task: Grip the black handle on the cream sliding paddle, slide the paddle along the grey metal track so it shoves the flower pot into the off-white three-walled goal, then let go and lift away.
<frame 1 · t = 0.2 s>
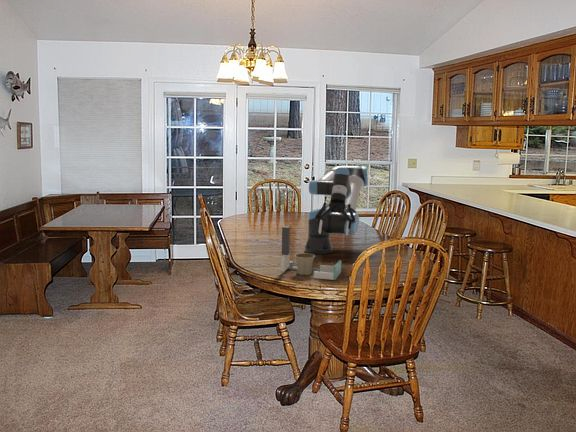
hand: (333, 233, 301), 16 cm above the table, tool tilted 35°, fingers open, 13 cm apart
track: (301, 269, 293), on the table
goal: (325, 275, 283), on the table
flower pot: (304, 273, 286), on the table
paddle: (286, 247, 288), point 11 cm above the table, slide at 0.0 cm
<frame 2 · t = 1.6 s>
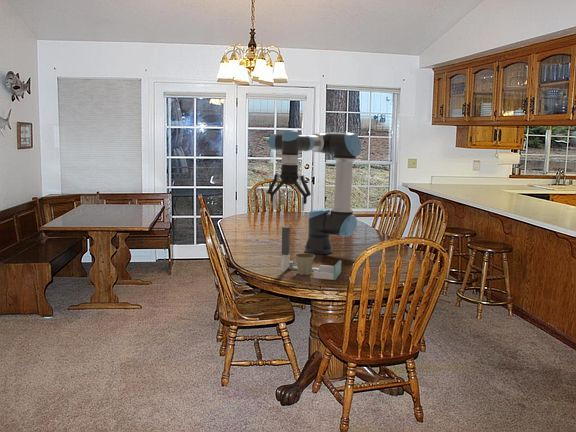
hand: (288, 210, 284), 29 cm above the table, tool pointing down, fingers open, 13 cm apart
nothing on the table moved.
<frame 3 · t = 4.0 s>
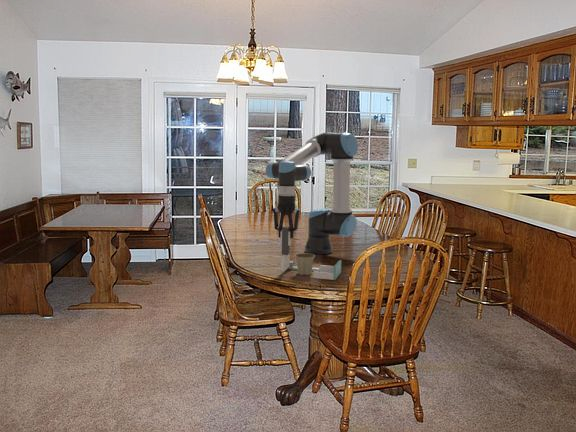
hand: (285, 244, 286), 13 cm above the table, tool pointing down, fingers closed on paddle, 3 cm apart
paddle: (286, 247, 288), point 12 cm above the table, slide at 0.0 cm, touching gripper
everything else where it was.
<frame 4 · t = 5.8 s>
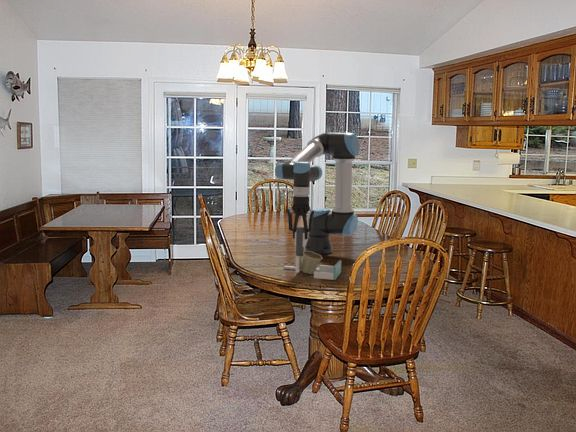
hand: (300, 245, 284), 13 cm above the table, tool pointing down, fingers closed on paddle, 3 cm apart
flower pot: (307, 272, 285), point 1 cm above the table, touching paddle
paddle: (300, 248, 286), point 11 cm above the table, slide at 6.9 cm, touching flower pot, gripper
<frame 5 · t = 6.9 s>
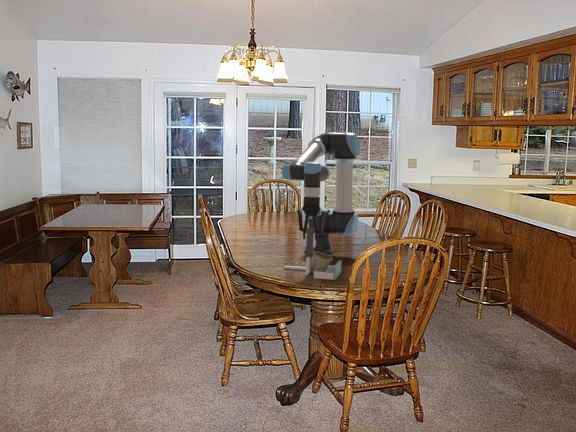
hand: (310, 246, 283), 13 cm above the table, tool pointing down, fingers closed on paddle, 3 cm apart
flower pot: (317, 273, 284), point 1 cm above the table, touching paddle
paddle: (311, 249, 285), point 11 cm above the table, slide at 11.8 cm, touching flower pot, gripper
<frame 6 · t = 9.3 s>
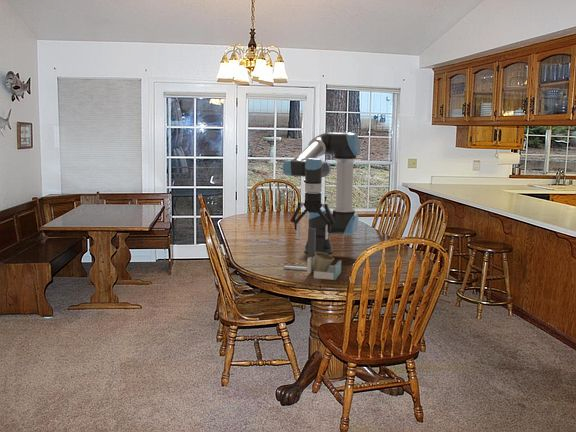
hand: (312, 238, 282), 17 cm above the table, tool pointing down, fingers open, 13 cm apart
paddle: (312, 249, 285), point 11 cm above the table, slide at 12.4 cm, touching flower pot
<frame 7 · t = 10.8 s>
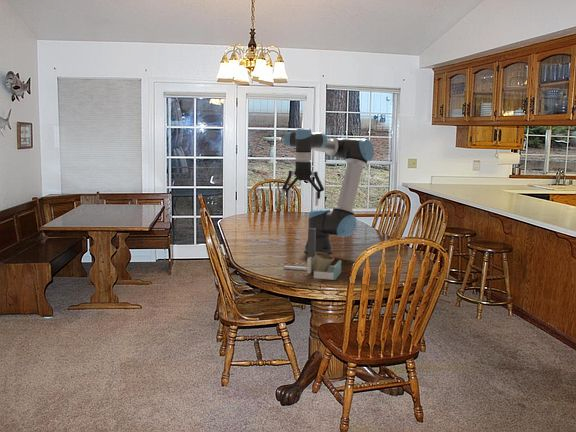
hand: (302, 205, 297), 30 cm above the table, tool pointing down, fingers open, 13 cm apart
nothing on the table moved.
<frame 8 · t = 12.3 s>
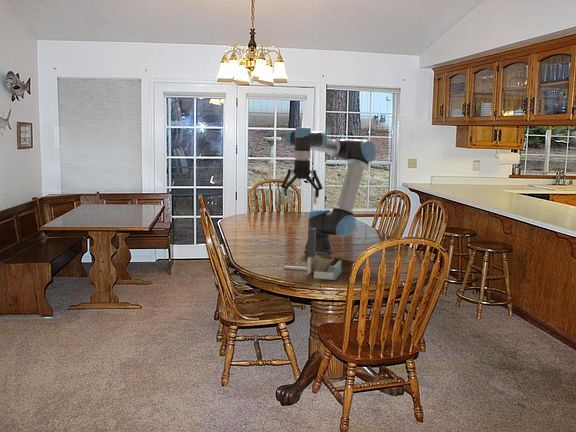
hand: (301, 203, 298), 31 cm above the table, tool pointing down, fingers open, 13 cm apart
nothing on the table moved.
at the end: flower pot inside the target area (3.1 cm from its centre), point 0.7 cm above the table; flower pot tilted 16°; paddle slide at 12.4 cm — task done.
